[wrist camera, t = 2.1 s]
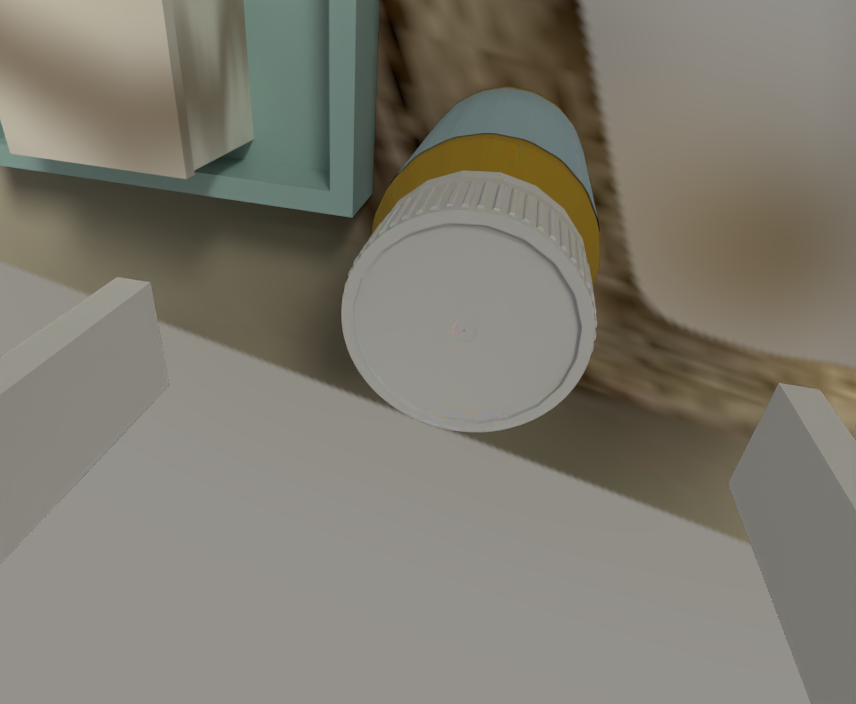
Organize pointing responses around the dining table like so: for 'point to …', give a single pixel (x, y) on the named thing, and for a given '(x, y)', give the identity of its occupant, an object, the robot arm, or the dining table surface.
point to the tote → (286, 114)
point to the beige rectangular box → (125, 82)
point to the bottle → (480, 269)
